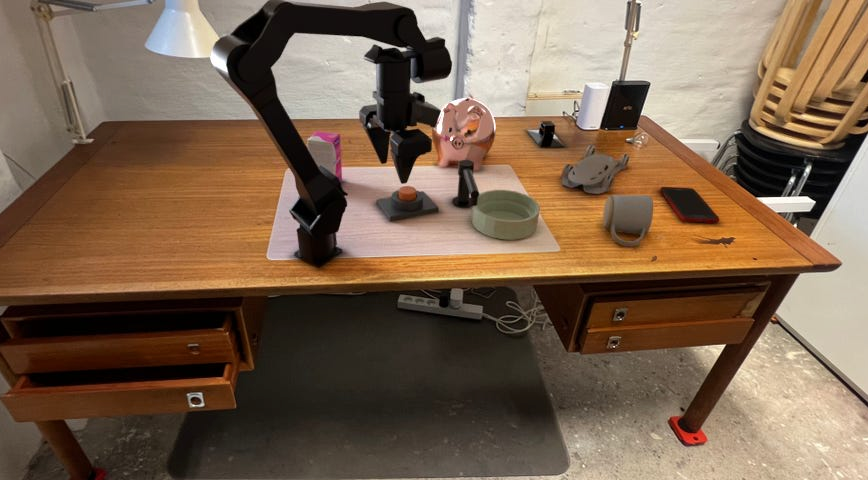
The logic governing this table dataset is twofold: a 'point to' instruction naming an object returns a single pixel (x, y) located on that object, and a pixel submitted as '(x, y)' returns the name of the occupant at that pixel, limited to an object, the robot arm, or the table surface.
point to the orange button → (407, 193)
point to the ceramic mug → (628, 216)
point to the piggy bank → (464, 132)
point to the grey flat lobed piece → (593, 172)
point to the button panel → (406, 206)
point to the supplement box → (326, 151)
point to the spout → (469, 179)
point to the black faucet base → (462, 195)
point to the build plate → (546, 136)
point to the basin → (505, 214)
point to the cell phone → (689, 205)
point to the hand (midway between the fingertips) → (393, 172)
